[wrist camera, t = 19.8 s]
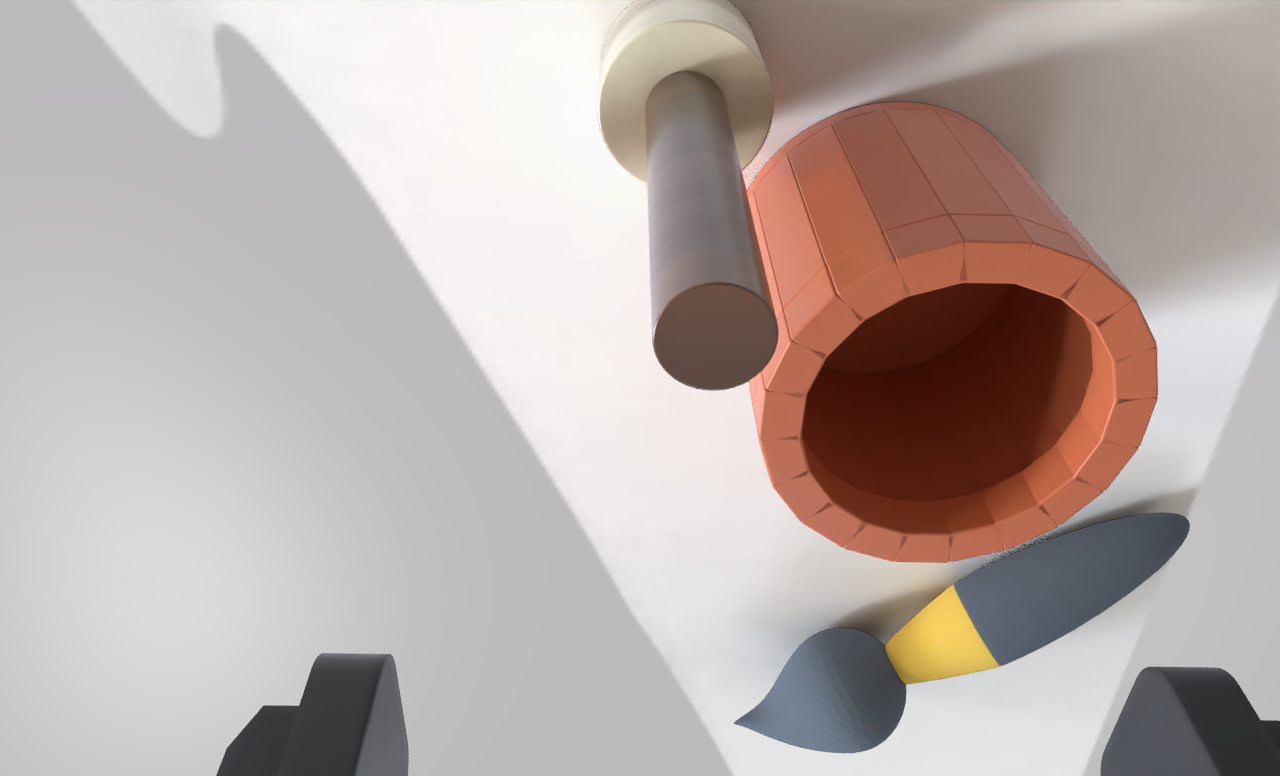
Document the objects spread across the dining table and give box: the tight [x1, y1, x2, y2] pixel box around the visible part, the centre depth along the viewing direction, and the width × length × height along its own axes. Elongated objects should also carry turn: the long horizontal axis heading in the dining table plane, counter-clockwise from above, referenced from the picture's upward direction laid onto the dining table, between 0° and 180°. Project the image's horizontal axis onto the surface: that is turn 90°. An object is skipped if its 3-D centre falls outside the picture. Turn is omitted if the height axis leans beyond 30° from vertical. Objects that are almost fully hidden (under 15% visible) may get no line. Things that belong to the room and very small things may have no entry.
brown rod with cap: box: [597, 0, 779, 390], centre depth 24 cm, size 5×5×16 cm
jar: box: [747, 102, 1158, 563], centre depth 30 cm, size 10×10×10 cm
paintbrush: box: [734, 513, 1190, 753], centre depth 41 cm, size 20×5×5 cm, turn 128°
